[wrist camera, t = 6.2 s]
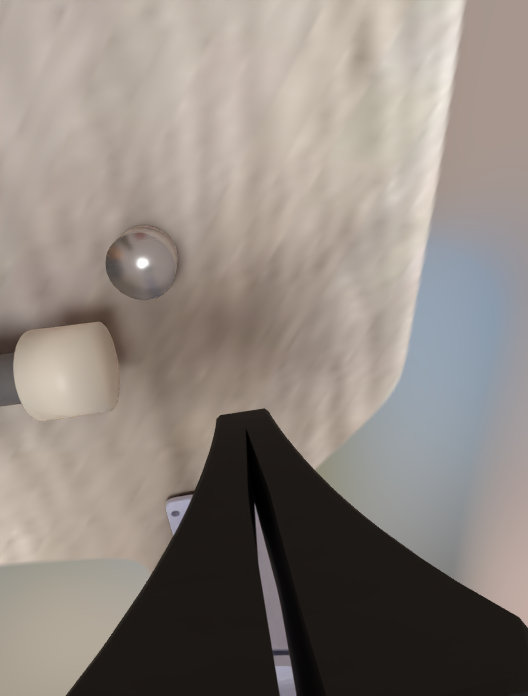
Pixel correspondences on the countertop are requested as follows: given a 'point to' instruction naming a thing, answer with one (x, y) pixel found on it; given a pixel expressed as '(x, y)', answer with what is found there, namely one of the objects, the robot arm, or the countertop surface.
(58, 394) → the cream knob
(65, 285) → the countertop surface
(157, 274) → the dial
